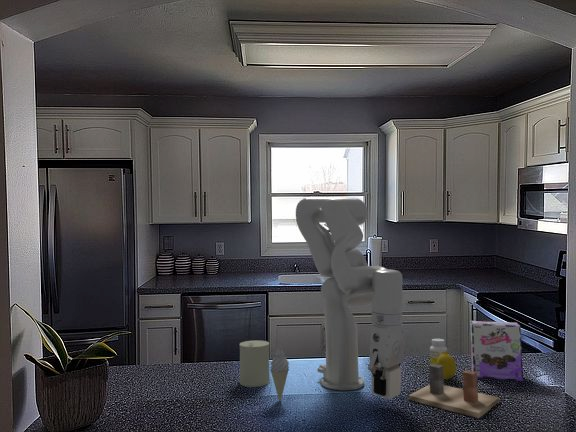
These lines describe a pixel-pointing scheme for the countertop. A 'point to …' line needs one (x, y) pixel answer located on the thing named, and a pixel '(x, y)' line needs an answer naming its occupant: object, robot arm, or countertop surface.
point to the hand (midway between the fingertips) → (386, 390)
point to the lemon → (447, 365)
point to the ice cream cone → (279, 371)
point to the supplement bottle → (437, 350)
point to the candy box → (496, 350)
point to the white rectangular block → (391, 382)
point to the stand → (454, 394)
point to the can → (254, 363)
